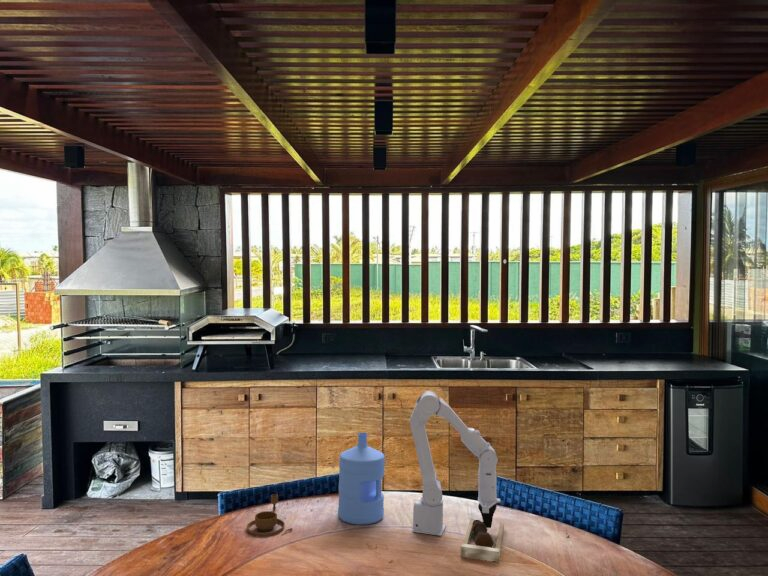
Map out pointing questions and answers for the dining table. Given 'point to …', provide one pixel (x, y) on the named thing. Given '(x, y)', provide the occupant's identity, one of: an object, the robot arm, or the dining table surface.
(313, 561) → the dining table surface
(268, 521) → the place setting
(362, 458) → the water jug
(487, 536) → the bolt
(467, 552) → the guide channel
